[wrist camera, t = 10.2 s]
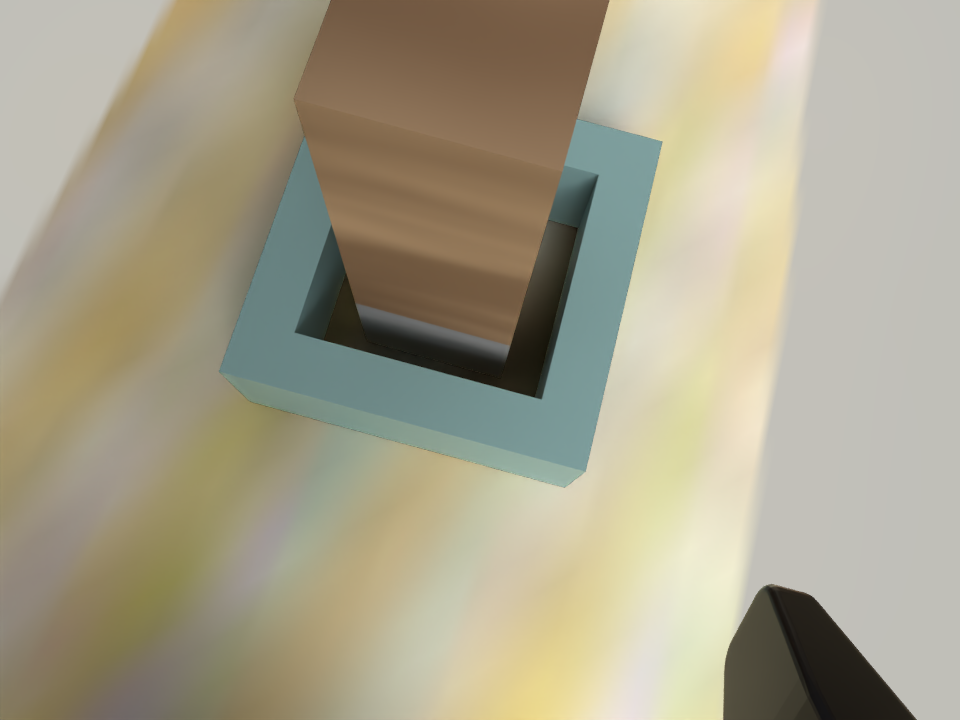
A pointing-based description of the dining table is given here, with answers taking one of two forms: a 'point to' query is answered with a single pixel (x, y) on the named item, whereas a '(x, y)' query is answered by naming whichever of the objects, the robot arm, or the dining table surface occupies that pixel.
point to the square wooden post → (444, 158)
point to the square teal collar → (435, 395)
